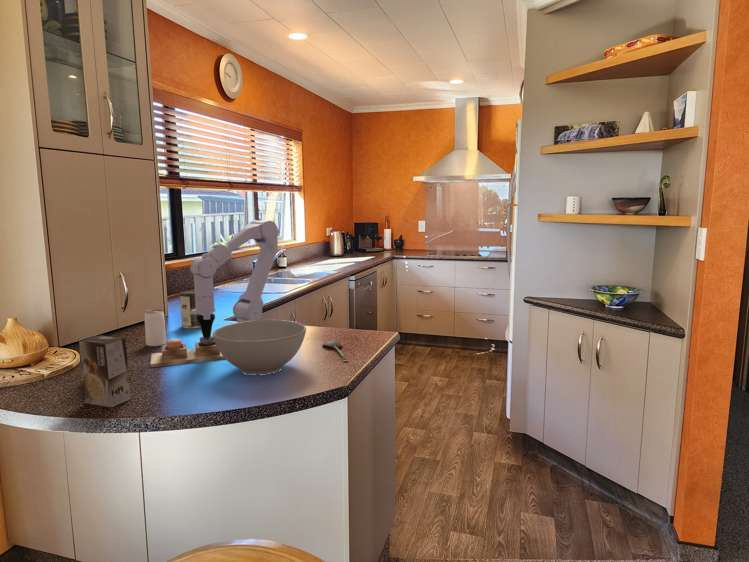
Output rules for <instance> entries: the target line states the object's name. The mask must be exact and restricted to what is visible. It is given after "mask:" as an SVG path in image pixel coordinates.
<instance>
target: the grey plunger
mask: <svg viewBox="0 0 749 562" xmlns="http://www.w3.org/2000/svg"><path fill="white" fill-rule="evenodd" d="M199 342H200V346H210V345H214V338H213V335H211V336H210V337H208V338H204V337H203V336H201V337H199Z"/></svg>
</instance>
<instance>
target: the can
mask: <svg viewBox="0 0 749 562" xmlns="http://www.w3.org/2000/svg"><path fill="white" fill-rule="evenodd" d="M163 311H164V310H163V309H149V310H146V311H145V314H144V317H143V318H144V330H145V342H146V346H148V347H153V346H154V347H160V346H161V347H162V345H166V344H167V342H166V341H167V335H166V322H165V321H166V320H165V319H166V318H165V313H164V312H163Z"/></svg>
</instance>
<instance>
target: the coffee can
mask: <svg viewBox="0 0 749 562" xmlns="http://www.w3.org/2000/svg"><path fill="white" fill-rule="evenodd" d="M178 294H179V299H180V301H179V303H180V304H179V305H180V315H181V316H180V317H181V327H182V329H199V328H200V329H201V326H200V323H199V322H198V320H197V317H196V316H198V315H201V314H198V313H192V310H195V309H196V303H195V289H188V290H184V291H183V290H182V291H179V293H178Z"/></svg>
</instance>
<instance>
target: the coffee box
mask: <svg viewBox="0 0 749 562" xmlns="http://www.w3.org/2000/svg"><path fill="white" fill-rule="evenodd" d="M78 343H79V351H80V352H79V354H80V362H81V364H80V365H81V373H82V381H83V382H82V383H83V390H84V402H85V404H89V405H96V406H101V407H107V408H114V407H116V406H118V405H120V404H123V403H125V402H128V401H130V400H131V389H130V377H129V365H128V363H129V362H128V354H127V343H126V337H120V336H109V335H102V334H101V335H99V334H98V335H95V336H91V337H87V338H85V339H82V340H79V341H78Z"/></svg>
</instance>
